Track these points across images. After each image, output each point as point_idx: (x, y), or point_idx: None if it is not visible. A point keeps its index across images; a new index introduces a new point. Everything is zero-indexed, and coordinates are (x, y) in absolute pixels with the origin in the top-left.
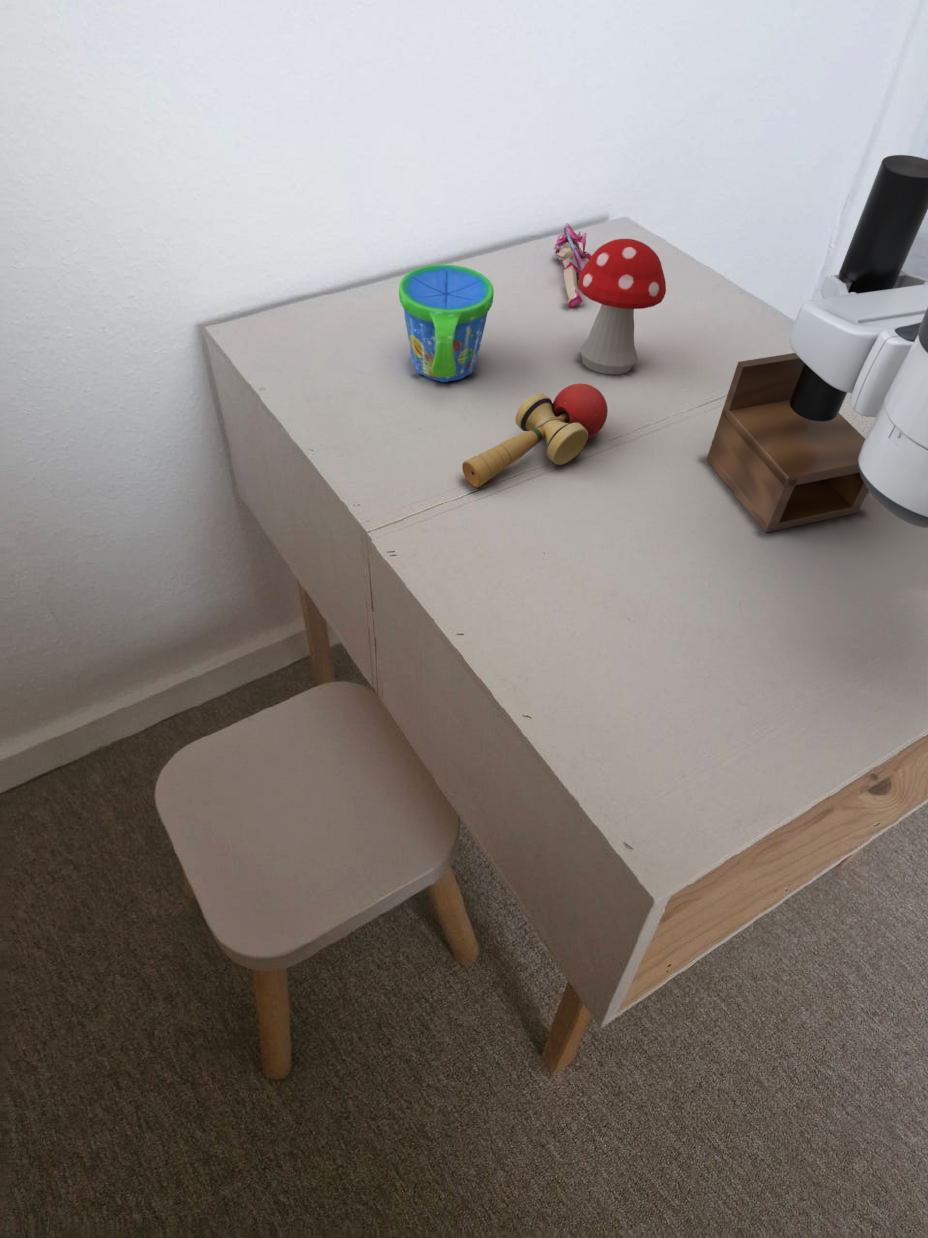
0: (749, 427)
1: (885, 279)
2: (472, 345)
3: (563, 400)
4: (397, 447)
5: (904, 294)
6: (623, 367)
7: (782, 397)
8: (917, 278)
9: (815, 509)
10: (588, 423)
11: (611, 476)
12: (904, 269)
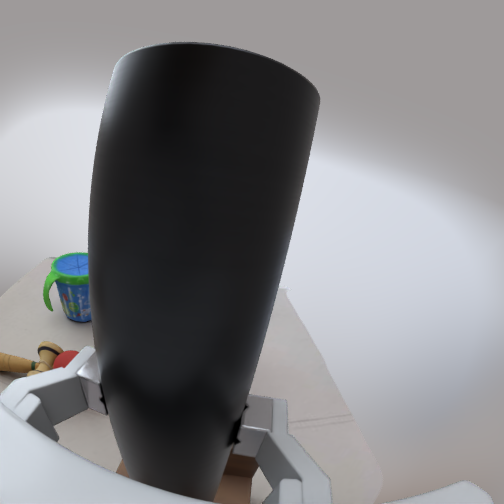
0: (122, 474)
1: (137, 426)
2: (76, 302)
3: (57, 356)
4: (7, 329)
5: (66, 502)
6: None
7: None
8: (283, 456)
9: None
10: None
11: (57, 427)
12: (285, 413)
